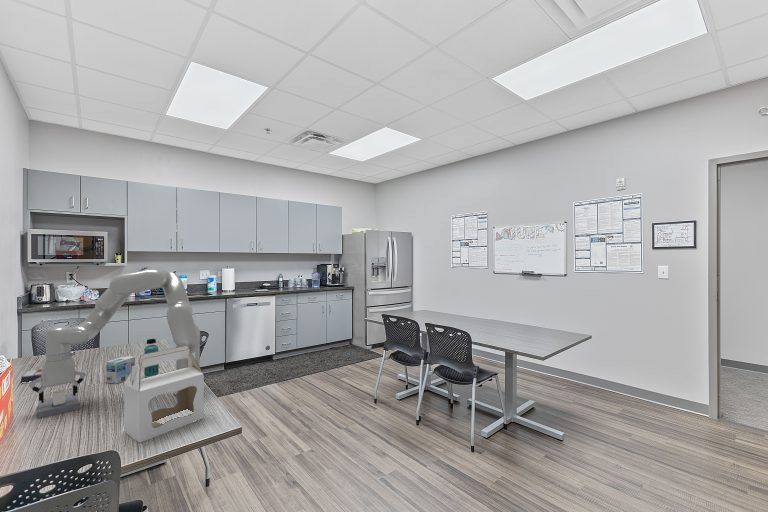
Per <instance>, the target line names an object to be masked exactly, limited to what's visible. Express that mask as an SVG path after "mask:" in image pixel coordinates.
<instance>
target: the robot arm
mask: <svg viewBox="0 0 768 512" xmlns="http://www.w3.org/2000/svg"><path fill="white" fill-rule="evenodd" d="M157 289H162V290H163V293H164V297H165V300H166V302H167V307H168V309H167V312H166V320H167V324H168V326H169V330H170V333H171V335H172V339H173V342H174V344H175V345H176V348H177V347H182V346H188V349H190V351H189V352H190V353H192V352H195V359H196V362H197V363H198V365H199V367H200V368H201V366H200V365H201V360H200V359H201V352H200V351H201V349H200V347H201V331H200V328H199V326H198V325H197V324H196V323H195V320H194V318H193V307H192V305H191V303H190V300H189V297H188V293H187V290H186V288H185V285H184V283H183V280H182V279H181V277H180V276H179V275H178V274H176V273H175V272H173V271H171V270H168V269H162V268H153V269H149V270H143V271H138V272H132V273H123V274H122V273H121V274H118V275H115V276H114V277H113V278H111V281H110V282H109V286H108V287H107V289H106V290H105V291H103V293H102V294H101V295H100V296H99V297H98V298H97V300H95V305H94V308H93V310H92V311H91V312H90V313H89V315H87V317H86V318H85V320H84V321H82V322H81V323H80V324H78V325H76V326H72V327H70V326H66V325H63V326H62V325H61V326H59V325H58V326H53V327H49V328H48V329H46V331H45V361H43V363H42V368H41V369H42V376H41V377H40V378H38V379H36V380H34V381H32V382H30V383H28V386H29V388H30V389H31V390H32V391H33V392H36V393H37V394H38V401H41V403H43V402H44V399H45V398H44V397H45V393H44V391H45V390H46V389H47V388H50V387H56V386H62V385H67V384H72V393H73V396H76V393H77V394H78V393H79V392H78V390H79V389H78V387H79V385H80V384H81V383H82V382H83V381H84V379H85V378H86V375H87V373H86V372H83V371H78V370H76V367H75V361H74V357H73V356H76V351H71V350H72V345H83V344H84V343H87V342H88V341H90V340H92V339H93V338H95V337H96V336H97V335H98V334H99V333H100V332H101V330H103V328H105V326H106V325H107V323H108V322H109V321H110V320H111V319H112V317H113V316H114V315H115V314H116V313H117V312H118V311H119V309H120V308H121V307H122V306H123V304H124V303H126V301H127V300H128V299H129V298H130V297H131V296H132V294H135V293H140V292H145V291H146V292H147V291H151V290H157ZM175 361H176V364H175V365H176V369H175V370H177V369H181V368H185V367H187V358H184V359H183V358H182V359H178V360H175ZM193 367H194V366H193ZM76 376H80V377H79V378H78V379H77V380H76ZM38 383H41V386H40V387H37V386H36V384H38ZM177 393H178V391H176V392H172V394H173V395H174V396H177Z"/></svg>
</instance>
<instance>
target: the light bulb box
mask: <svg viewBox="0 0 768 512" xmlns="http://www.w3.org/2000/svg"><path fill="white" fill-rule="evenodd" d="M105 363H106V364H105V367H106V369H105V373H106V374H105V383H106V384H115V385H116V384H119V383H122V382H126V380H127V378H128V377H129V375H130V373H131V367H132V366H133V365H136V356H126V355H125V356H121V357H118V358H115V359H111V360H107V361H106V362H105Z"/></svg>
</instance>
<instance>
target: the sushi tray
mask: <svg viewBox="0 0 768 512" xmlns="http://www.w3.org/2000/svg"><path fill="white" fill-rule="evenodd" d="M41 376H42V368H41V369H33V370H28V371H26V372H25V373H24V374H23V375H22V376H21V377H20V384H21V383H22V382H29V381H34V380H36V379H38V378H40V377H41Z"/></svg>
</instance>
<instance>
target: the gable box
mask: <svg viewBox="0 0 768 512" xmlns="http://www.w3.org/2000/svg"><path fill="white" fill-rule="evenodd" d="M189 351H190V349H188V346H182V347H177V346H176V347H173V348H168V349H164V350H162V349H161V350H158V351H157V352H152V353H147V354H144V353H143V354H141V355H140V356H139V360H138V362H137V363H135V365H133V366H132V367H131V373H130V375H129V377H128V378H127V380H125V381H124V384H123V386H124V388H123V393H124V394H123V396H124V397H123V398H124V401H123V405H124V409H123V410H124V411H123V412H124V417H123V418H124V421H123V422H124V427H123V428H124V433H126V434H127V435H128V436H129V437H130V438H132V439H134V441H137V442H138V443H143V442H145V441H149V440H151V439H154V438H156V437H159V436H162V435H164V434H167V433H169V431H170V432H172V431H175V430H177V429H179V428H178V427H180V426H183V425H185V426H187V425H186V424H188V423H190V424H192V423H191V422H193V421H195V420H198V419H200V418H203V417H204V416H205V412H204V411H205V408H204V406H205V405H204V404H205V403H204V402H205V401H204V400H205V399H204V396H205V395H204V393H205V392H204V390H205V389H204V386H205V385H204V383H205V381H204V379H205V378H204V372H203V370H202V369H201V366H200V367H199V365H198V363H197V362H196V359H195V352H192V353H190V352H189ZM182 358H183V359H184V358H187V367H185V368H181V369H177V370H176V369H174V370H170V371H166V372H162V373H158V374H157V375H154V376H145V377H142V370H143V369H144V367H148V366H152V365H156V364H158V365H160V364H165V363H169V362H173V361H176V360H178V359H182ZM193 366H194V367H193ZM176 391H178V393H177V395H176V399H177V403H176V405H174V406H172V407H164V408H160V409H156V410H154V411H152V412H151V410H150V407H149V403H150V401H151V400H152V399H153V398H155V397H157V396H160V395H163V394H170V393H173V392H176ZM186 409H188V410H190V411H192V412H193V413H192V414H190V415H188V416H184V417H177V418H174V419H171V420H169V421H167V422H165V423H164V424H162V423H161V424H160V423H157V422H154V421H157V420H159V419H161V418H164V417H166V416H169V415H172V414H175V413H178V412H180V411H183V410H186ZM204 418H205V417H204ZM204 418H203V419H204ZM198 421H199V420H198ZM152 422H154V423H152ZM193 423H194V422H193ZM188 425H189V424H188ZM183 427H184V426H183ZM176 428H177V429H176ZM180 428H181V427H180ZM174 429H175V430H174ZM171 430H172V431H171Z"/></svg>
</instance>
